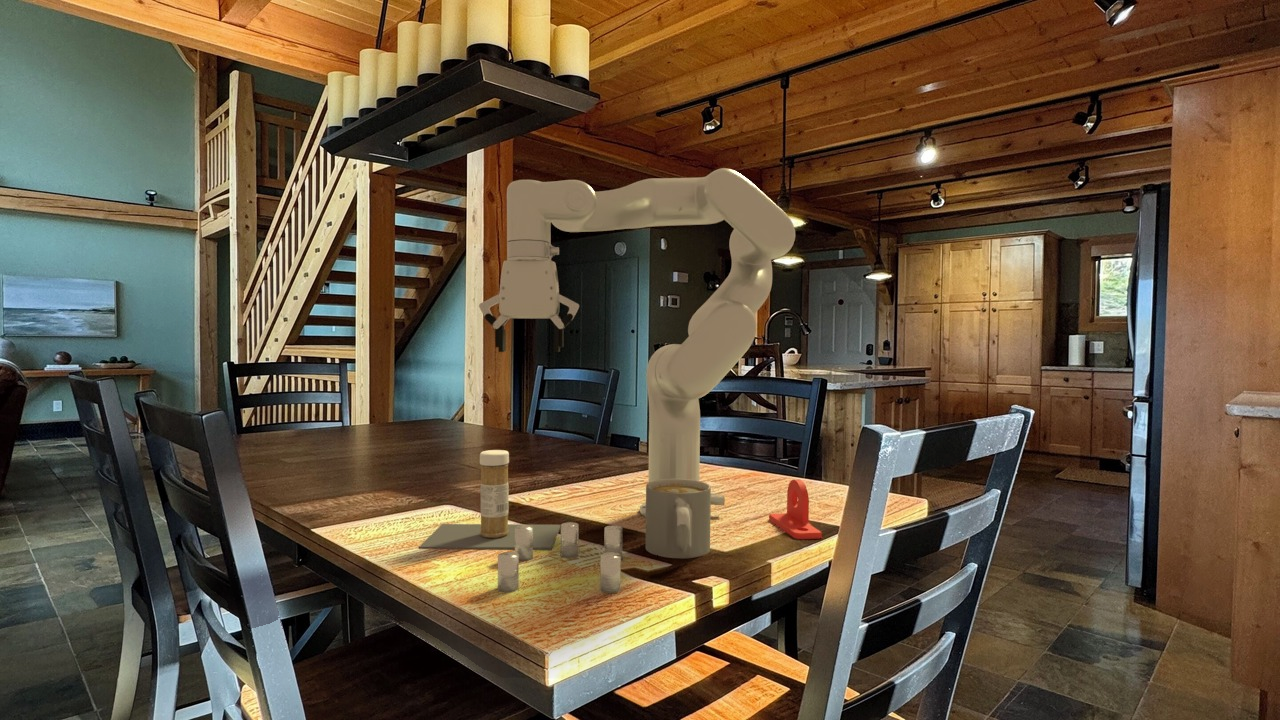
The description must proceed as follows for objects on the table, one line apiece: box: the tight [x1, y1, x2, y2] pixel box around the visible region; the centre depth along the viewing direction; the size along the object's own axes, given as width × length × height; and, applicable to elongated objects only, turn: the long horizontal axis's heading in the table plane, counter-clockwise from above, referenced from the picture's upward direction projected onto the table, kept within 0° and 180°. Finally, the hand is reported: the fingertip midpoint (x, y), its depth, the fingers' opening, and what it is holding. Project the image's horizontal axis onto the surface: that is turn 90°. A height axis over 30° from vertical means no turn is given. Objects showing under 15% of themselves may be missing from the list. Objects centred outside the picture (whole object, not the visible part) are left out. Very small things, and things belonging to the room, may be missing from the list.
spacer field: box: [497, 521, 623, 594], centre depth 90 cm, size 16×16×5 cm
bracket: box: [768, 479, 823, 540], centre depth 113 cm, size 12×4×8 cm, turn 10°
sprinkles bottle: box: [479, 449, 510, 538], centre depth 105 cm, size 5×5×13 cm
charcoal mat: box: [418, 523, 561, 551], centre depth 105 cm, size 20×12×1 cm, turn 91°
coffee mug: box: [645, 479, 712, 559], centre depth 99 cm, size 13×10×10 cm
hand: (529, 351), depth 115 cm, fingers open, 9 cm apart
